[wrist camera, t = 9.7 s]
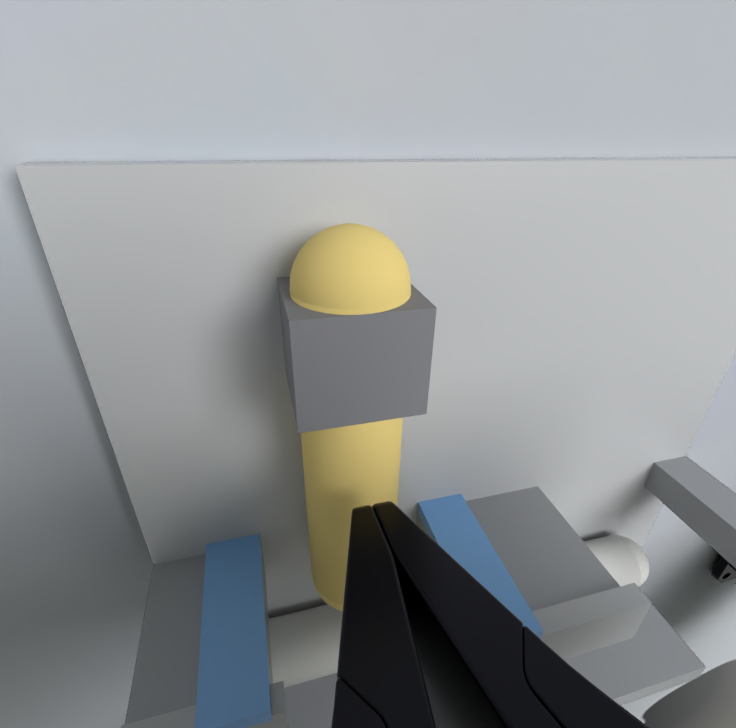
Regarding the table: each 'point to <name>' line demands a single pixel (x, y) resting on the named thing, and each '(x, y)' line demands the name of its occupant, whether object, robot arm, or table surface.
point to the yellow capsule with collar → (351, 380)
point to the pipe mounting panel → (419, 433)
